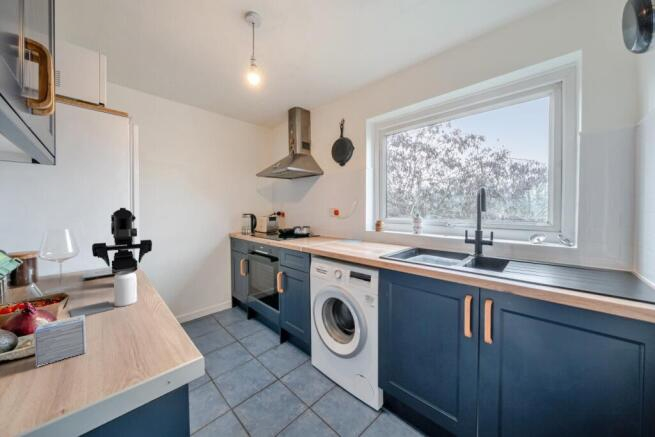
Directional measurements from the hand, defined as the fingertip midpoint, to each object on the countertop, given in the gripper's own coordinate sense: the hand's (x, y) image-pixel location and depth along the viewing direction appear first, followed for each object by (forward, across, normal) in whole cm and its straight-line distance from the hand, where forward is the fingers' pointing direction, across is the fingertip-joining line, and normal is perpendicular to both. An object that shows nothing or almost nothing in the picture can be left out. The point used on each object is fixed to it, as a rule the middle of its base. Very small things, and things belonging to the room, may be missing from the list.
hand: (124, 264), depth 94 cm
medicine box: (+38, -12, -18) cm, 44 cm away
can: (+16, 0, +4) cm, 16 cm away
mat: (+15, -9, +4) cm, 18 cm away
